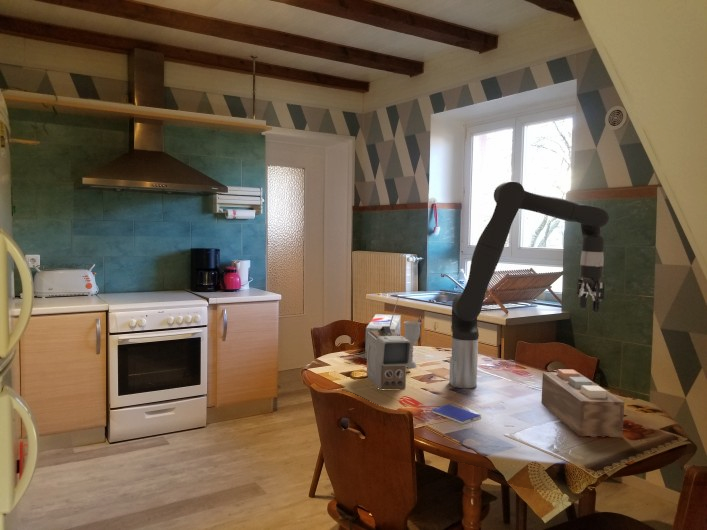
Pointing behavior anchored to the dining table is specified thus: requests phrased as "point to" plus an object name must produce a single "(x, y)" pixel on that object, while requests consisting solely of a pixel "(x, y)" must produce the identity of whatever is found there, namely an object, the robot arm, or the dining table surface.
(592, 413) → the keypad console
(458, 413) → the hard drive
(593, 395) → the ivory key
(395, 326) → the soda pack
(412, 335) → the chalice
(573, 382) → the slate key
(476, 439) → the dining table surface
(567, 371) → the terracotta key
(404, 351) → the portable television
